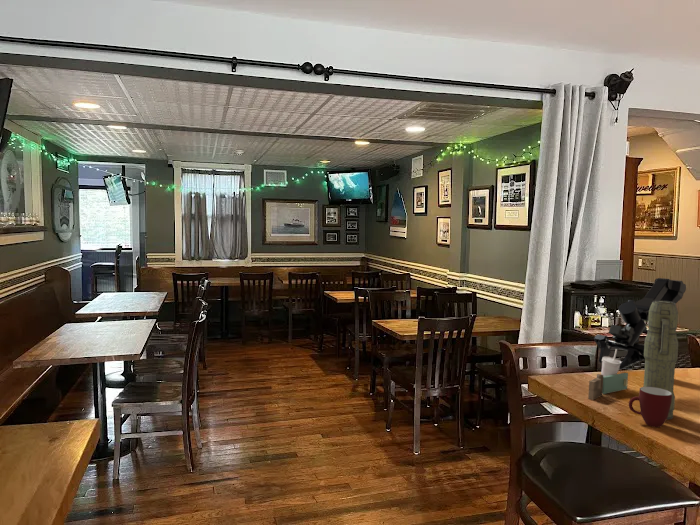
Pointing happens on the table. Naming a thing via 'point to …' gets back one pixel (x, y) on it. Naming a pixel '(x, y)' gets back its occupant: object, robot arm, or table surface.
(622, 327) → the robot arm
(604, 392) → the green block
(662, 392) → the mug
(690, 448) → the table surface
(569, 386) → the table surface
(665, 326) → the thermos
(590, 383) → the brown block
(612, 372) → the smoothie
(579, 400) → the table surface
